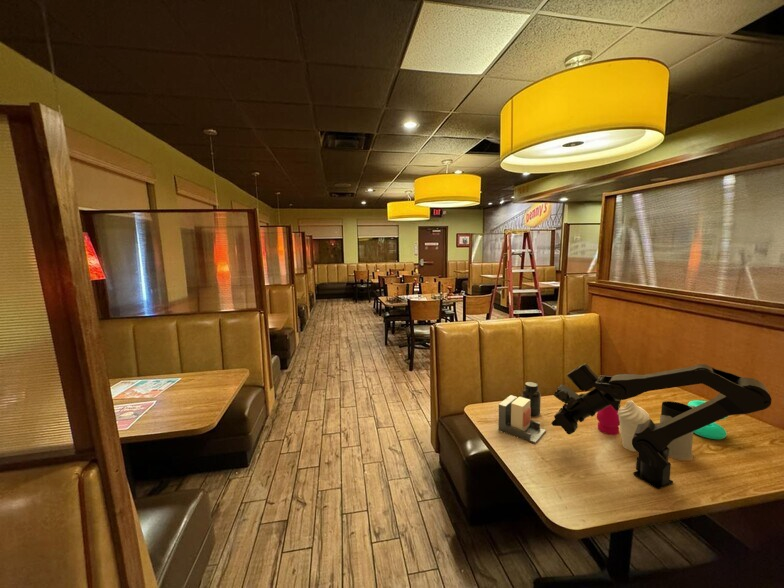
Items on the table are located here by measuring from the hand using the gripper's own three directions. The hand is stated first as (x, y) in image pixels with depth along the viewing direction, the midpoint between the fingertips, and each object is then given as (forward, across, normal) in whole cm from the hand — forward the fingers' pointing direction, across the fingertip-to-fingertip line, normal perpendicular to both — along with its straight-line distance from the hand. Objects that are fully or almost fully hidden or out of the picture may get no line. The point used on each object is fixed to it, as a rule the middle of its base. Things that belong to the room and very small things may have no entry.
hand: (552, 424), depth 105 cm
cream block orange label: (+11, 0, -4) cm, 12 cm away
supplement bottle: (+14, -16, -4) cm, 21 cm away
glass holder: (-17, -22, +27) cm, 39 cm away
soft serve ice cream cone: (-9, -14, +19) cm, 25 cm away
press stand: (+12, 0, -3) cm, 12 cm away
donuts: (-21, -41, +31) cm, 55 cm away
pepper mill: (-4, -21, +13) cm, 25 cm away
